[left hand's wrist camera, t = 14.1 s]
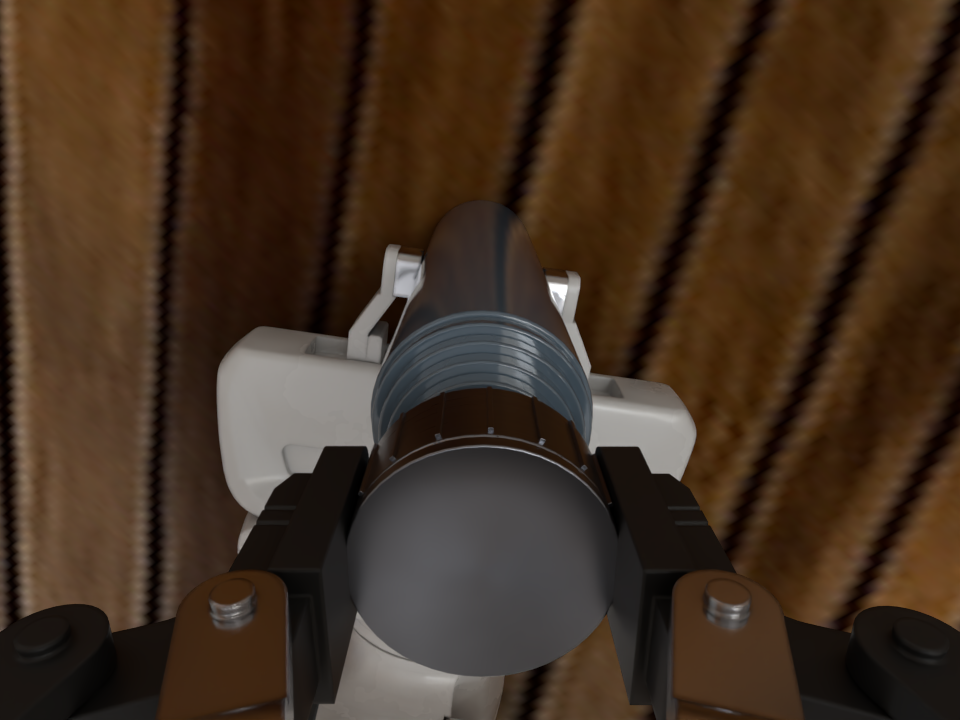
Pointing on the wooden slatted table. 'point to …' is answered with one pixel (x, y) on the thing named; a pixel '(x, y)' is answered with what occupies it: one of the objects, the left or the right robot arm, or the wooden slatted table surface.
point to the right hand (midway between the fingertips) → (482, 260)
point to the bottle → (481, 324)
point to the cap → (482, 535)
